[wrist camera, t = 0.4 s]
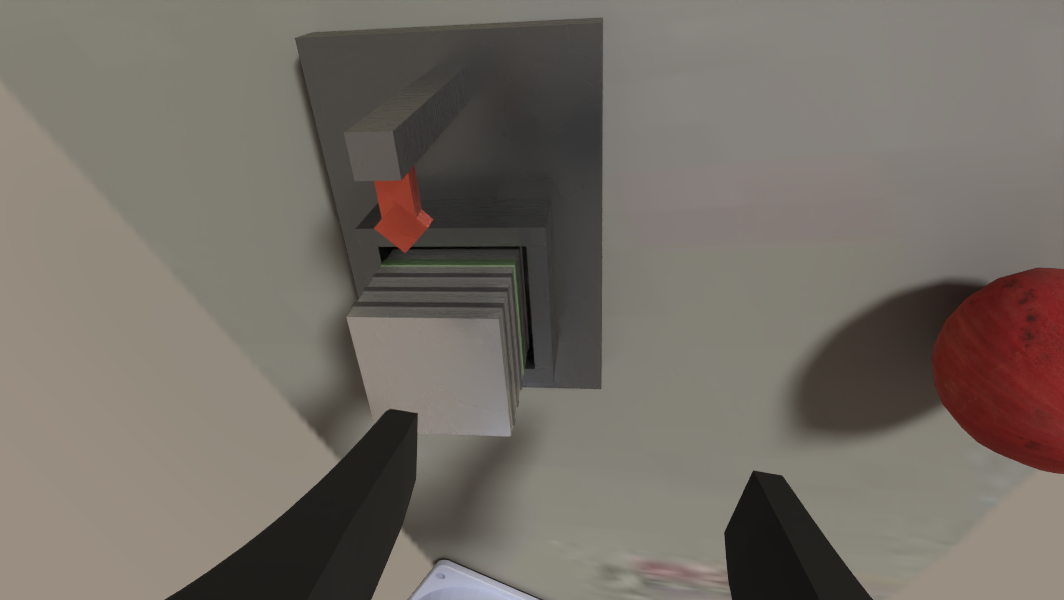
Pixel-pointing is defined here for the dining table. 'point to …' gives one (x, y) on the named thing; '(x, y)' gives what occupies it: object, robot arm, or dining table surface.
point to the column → (446, 337)
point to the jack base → (475, 160)
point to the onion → (1008, 367)
